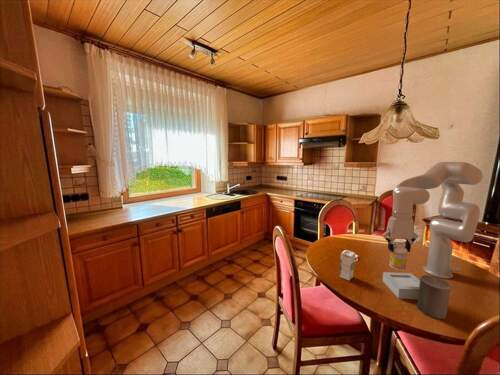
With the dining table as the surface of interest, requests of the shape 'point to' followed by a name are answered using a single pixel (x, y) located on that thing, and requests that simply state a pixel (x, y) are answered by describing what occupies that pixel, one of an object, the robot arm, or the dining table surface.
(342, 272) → the syrup box
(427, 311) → the pillar candle
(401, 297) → the gray square tray
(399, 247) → the supplement bottle
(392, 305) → the dining table surface
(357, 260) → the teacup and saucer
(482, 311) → the dining table surface
